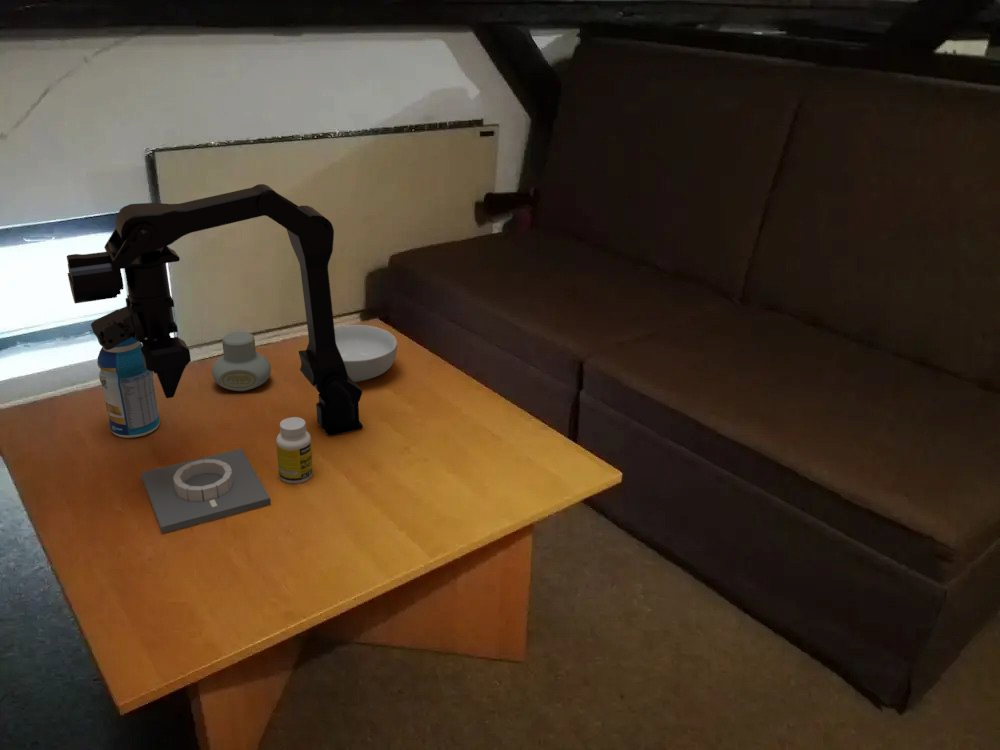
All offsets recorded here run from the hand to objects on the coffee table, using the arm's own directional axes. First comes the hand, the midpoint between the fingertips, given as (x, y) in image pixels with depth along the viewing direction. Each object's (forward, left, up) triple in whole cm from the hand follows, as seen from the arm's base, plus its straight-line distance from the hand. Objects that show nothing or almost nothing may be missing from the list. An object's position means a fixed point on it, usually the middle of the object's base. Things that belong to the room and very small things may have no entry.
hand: (163, 384), depth 136 cm
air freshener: (-17, -23, -15) cm, 32 cm away
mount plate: (-2, +10, -15) cm, 18 cm away
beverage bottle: (+4, -15, -15) cm, 21 cm away
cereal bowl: (-38, -18, -15) cm, 45 cm away
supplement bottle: (-16, +12, -15) cm, 25 cm away
